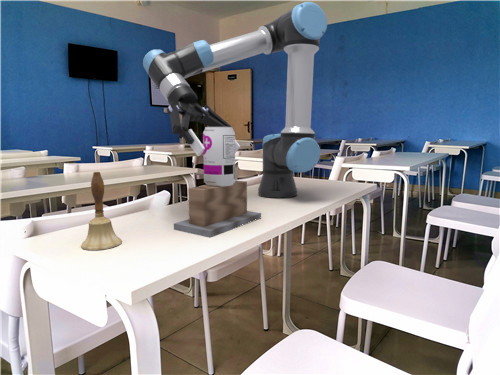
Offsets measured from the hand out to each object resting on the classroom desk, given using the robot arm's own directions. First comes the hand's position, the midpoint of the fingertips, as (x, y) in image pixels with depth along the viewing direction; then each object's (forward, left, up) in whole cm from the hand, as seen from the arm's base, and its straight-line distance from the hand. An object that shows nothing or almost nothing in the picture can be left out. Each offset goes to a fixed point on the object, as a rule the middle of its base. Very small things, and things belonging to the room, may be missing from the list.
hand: (220, 151), depth 90 cm
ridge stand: (0, -1, -19) cm, 19 cm away
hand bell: (+30, -1, -20) cm, 36 cm away
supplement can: (0, -1, -9) cm, 9 cm away
